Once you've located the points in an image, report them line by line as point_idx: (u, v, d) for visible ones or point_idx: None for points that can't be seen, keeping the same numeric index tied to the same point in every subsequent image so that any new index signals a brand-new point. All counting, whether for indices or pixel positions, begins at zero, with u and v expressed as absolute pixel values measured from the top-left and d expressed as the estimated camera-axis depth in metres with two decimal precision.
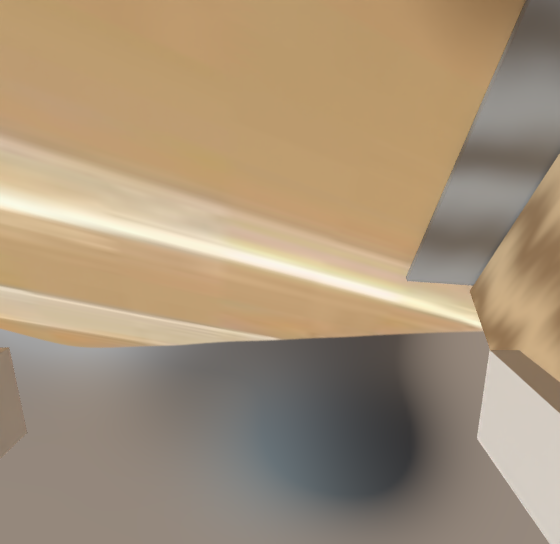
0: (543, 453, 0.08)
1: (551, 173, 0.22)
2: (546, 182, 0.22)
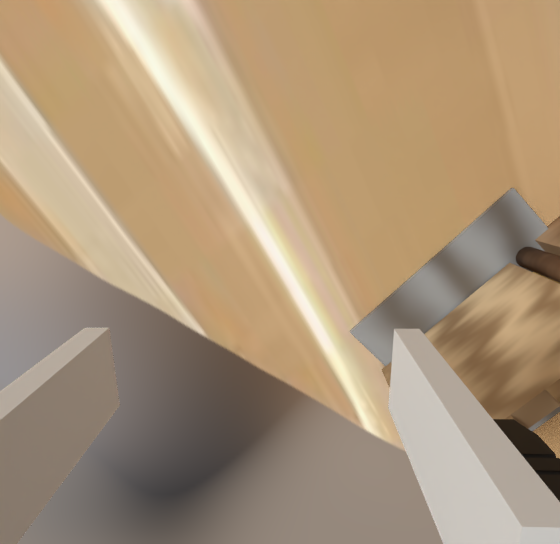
0: (417, 411, 0.09)
1: (472, 296, 0.36)
2: (467, 300, 0.36)
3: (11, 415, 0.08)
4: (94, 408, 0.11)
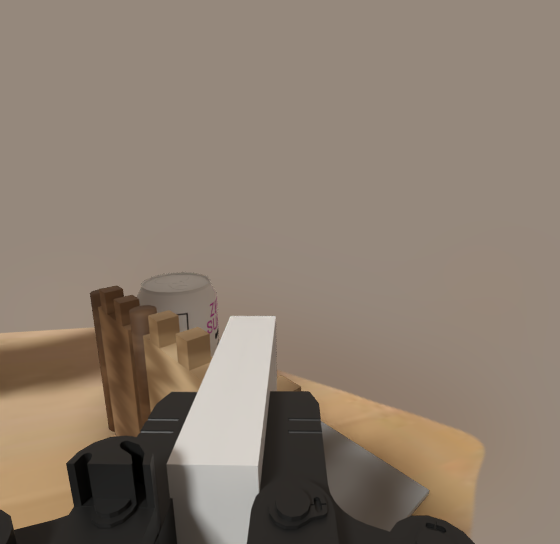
0: None
1: None
2: None
3: (234, 389, 0.08)
4: None
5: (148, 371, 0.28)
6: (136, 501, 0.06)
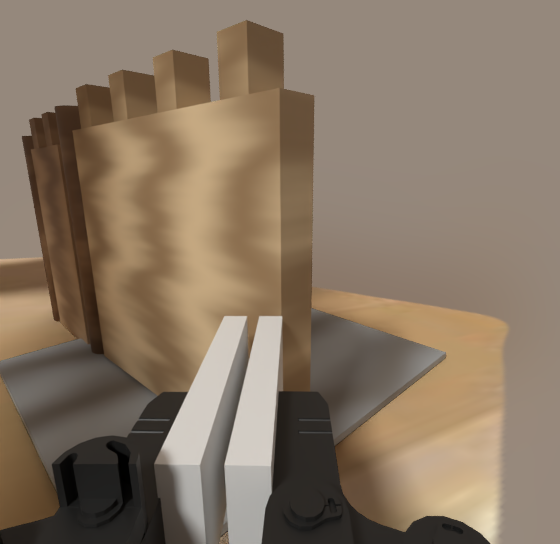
0: None
1: (137, 375, 0.22)
2: (141, 377, 0.21)
3: (225, 389, 0.08)
4: None
5: (82, 181, 0.22)
6: (122, 500, 0.06)
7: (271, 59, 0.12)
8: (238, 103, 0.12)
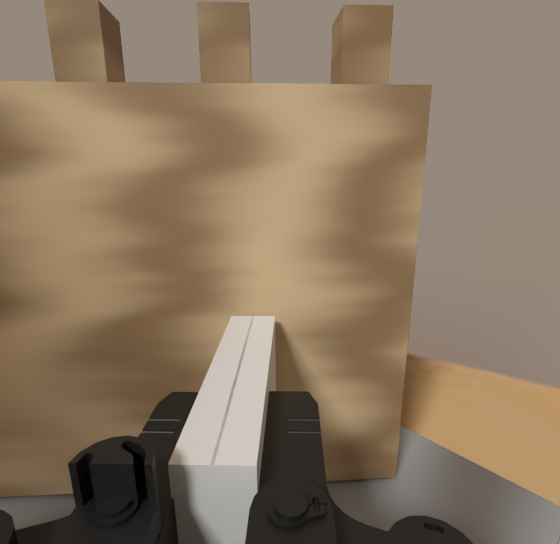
0: None
1: None
2: None
3: None
4: None
5: None
6: (138, 501, 0.06)
7: None
8: (371, 92, 0.11)
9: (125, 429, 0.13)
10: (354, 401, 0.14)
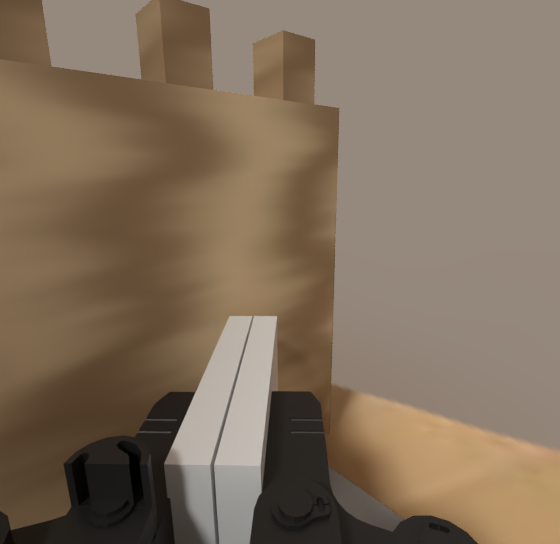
0: None
1: None
2: None
3: (232, 389, 0.08)
4: None
5: None
6: (133, 501, 0.06)
7: None
8: (303, 109, 0.13)
9: None
10: (301, 379, 0.16)
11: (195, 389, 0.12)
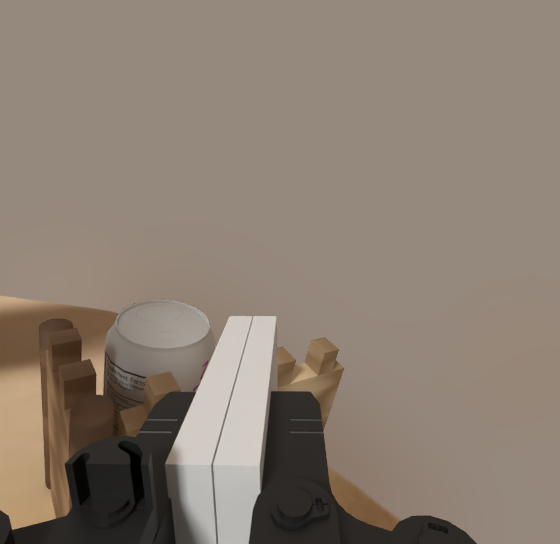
0: None
1: None
2: None
3: (233, 389, 0.08)
4: None
5: None
6: (134, 501, 0.06)
7: None
8: (326, 375, 0.28)
9: None
10: None
11: None
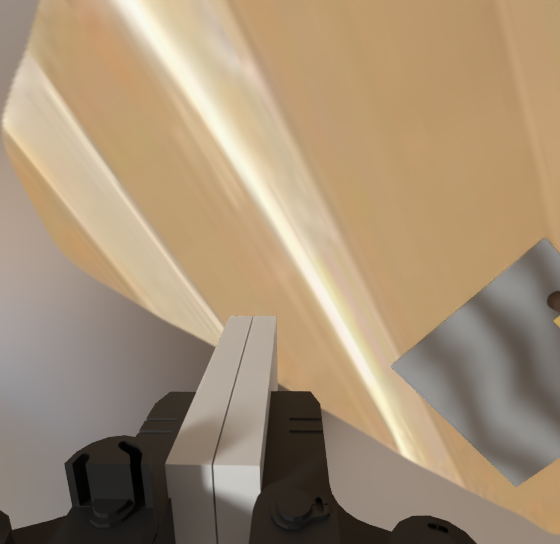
0: None
1: None
2: None
3: (233, 389, 0.08)
4: None
5: None
6: (134, 501, 0.06)
7: None
8: None
9: None
10: None
11: None
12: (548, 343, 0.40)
